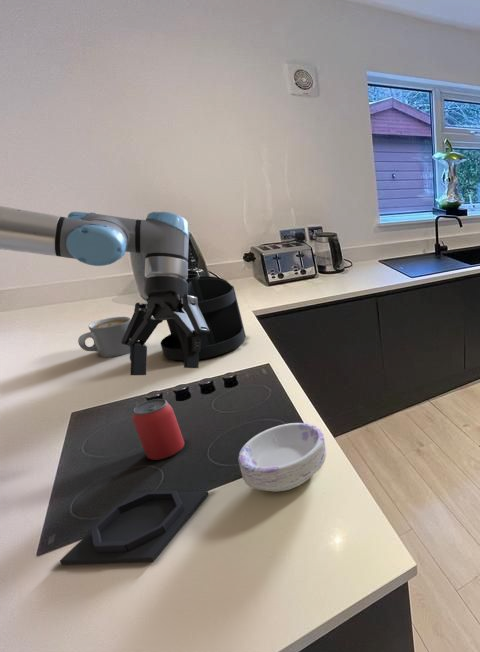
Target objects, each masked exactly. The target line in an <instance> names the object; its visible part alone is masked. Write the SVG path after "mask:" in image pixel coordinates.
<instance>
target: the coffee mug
mask: <svg viewBox="0 0 480 652" xmlns="http://www.w3.org/2000/svg"><path fill="white" fill-rule="evenodd" d="M130 321H131V318H130V317H129V316H115V317H107V318H103V319H99V320H96V321H94V322H91V323H90V324H88V329H89V332H86V333H83V334H81V335H80V336H79V337H78V339H77V343H78V346H79V347H80V348H81V349H82V350H83V351H86V352H97V353H99V355H100V357H104V358H105V357H107V358H109V357H119V356H122V355H127V354H130V346H128V345H125V344H122V343H121V341H122V339H123V336H124V334H125V332H126V330H127V327H128V325H129V323H130ZM87 339H92V340H93V344H92V345H91V346H88V345H87V344H86V340H87ZM129 340H130V339H129Z"/></svg>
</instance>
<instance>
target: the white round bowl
mask: <svg viewBox="0 0 480 652" xmlns="http://www.w3.org/2000/svg"><path fill="white" fill-rule="evenodd" d="M325 441H326V440H325V436H324V433H323V431H322V430H321V429H320V428H319V427H317V426H316V425H314V424H311V423H305V422H290V423H284V424H279V425H277V426H273V427H269V428H268V429H266V430H264V431H261V432H258V434H256V435H254V436H253V437H252V438H250V439H249V440H248V441H247V442H246V443H245V444H243V446H242V447H241V449H240V451H239V453H238V459H237V460H238V465H239V470H240V473H241V476H242V479H243V481H244V483H245V484H246V485H247V486H248V487H250V488H252V489H254V490H258V491H268V492H275V493H276V492H286V491H290V490H292V489H295V488H297V487H299V486H301V485H302V484H304V483H306V482H307V481H308V480H309V479H310V478H311V477H312V476H314V475H315V474H316V473H317V472H318V471H320V469H321V468H322V467H323V465H324V464H325V461H326V459H327V458H326V457H327V449H326V443H325Z"/></svg>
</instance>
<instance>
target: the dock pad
mask: <svg viewBox="0 0 480 652" xmlns="http://www.w3.org/2000/svg"><path fill="white" fill-rule="evenodd" d="M208 496H209V491H208V490H201V491H199V490H198V491H197V490H195V491H193V490H191V491H177V490H150V491H147V492H131V493H130V494H129V495H127V497H126V498H124V500H123V501H121V503H119V504H117V505H115V506H113V507H112V508H111V509H110V510H109V511H108V512H107V513H106V514H105V515H104V516H102V517H101V518H100V520H99V521H97V522H96V523H95V524H94V525H93V526H92V527H91V529H90V532H89V533H87V534H86V535H85V536H84V537H83V538H82V539H81V540H80V541H79V542H78V543H77V544H76V545H74V547H72V549H70V550H69V551H68V552H67V553H66V554H65V555H64V556H63V557H62V558H61V559H60V560H59V562H60V564H61V565H62V566H68V565H71V566H72V565H96V564H123V563H126V564H127V563H153V562H155V561H156V559H157V558H158V557H159V556H160V554H162V553H163V551H164V550H165V548H166V547H167V546H168V545H169V543H170V542H171V541H172V540H173V539H174V538H175V537H176V536H177V534H178V533H179V531H181V529H182V528H183V527H184V526H185V524H186V523H187V522H188V521H189V520H190V519H191V517H192V516H193V515H194V514H195V512H196V511H197V510H198V508H199V507H200V506H201V505H202V504H203V503H204V501H205V500H206V499H207V498H208Z"/></svg>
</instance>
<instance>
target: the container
mask: <svg viewBox="0 0 480 652" xmlns="http://www.w3.org/2000/svg"><path fill="white" fill-rule="evenodd" d="M186 281H187V282H188V295H189V296H194V297H197V300H198V307H199V309H200V311H201V313H202V315H203V317H204V320H205V322H206V324H207V326H208V328H209V330H210V333H209V334H205V335H203V336H202V338H201V350H200V352H199V361H200V360H206V359H210V358H214V357H218V356H220V355H224V354H226V353H228V352H231V351H233V350H236V349H237V348H239V347H240V346H241V345H242V344H244V343H245V341H246V337H247V335H246V331H245V327H244V324H243V319H242V316H241V311H240V307H239V302H238V299H237V295H236V290H235V287H234V285H232V284H231V283H230V282H229V281H227V280H226V279H224V278H221V277H217V276H208V275H203V276H202V275H201V276H199V274H195V273H194V274H193V273H191V274H188V279H186ZM148 301H149V297H147V299H146V304H147V303H148ZM183 309H184V310H185V308H184V307H183ZM185 312H186V311H185ZM166 324H167V326H168V330H169V332H170V334H168V335H167V336H164V338H162V339H161V341H160V346H161V350H162V352H163V356H164V357H165V358H167V359H169V360H174V361H184V338H190V337H186V335H187V334H186V333H185V332H184V331H183V329H182V328H181V327H180V326H179V324H178V323H177V322H176V321H175V320H174V319H168V320H166Z"/></svg>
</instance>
